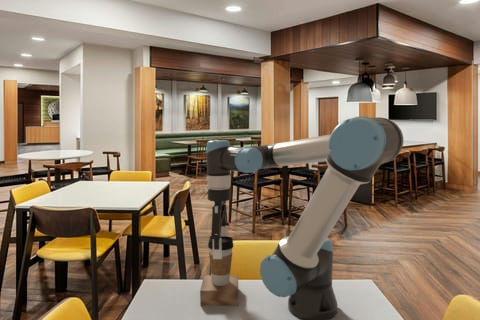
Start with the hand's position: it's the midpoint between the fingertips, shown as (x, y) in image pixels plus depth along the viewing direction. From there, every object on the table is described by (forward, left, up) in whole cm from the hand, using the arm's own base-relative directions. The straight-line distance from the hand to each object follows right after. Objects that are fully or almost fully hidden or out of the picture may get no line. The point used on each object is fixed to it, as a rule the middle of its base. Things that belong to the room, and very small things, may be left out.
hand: (220, 251), depth 124 cm
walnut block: (0, 0, -16) cm, 16 cm away
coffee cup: (0, 0, -11) cm, 11 cm away
